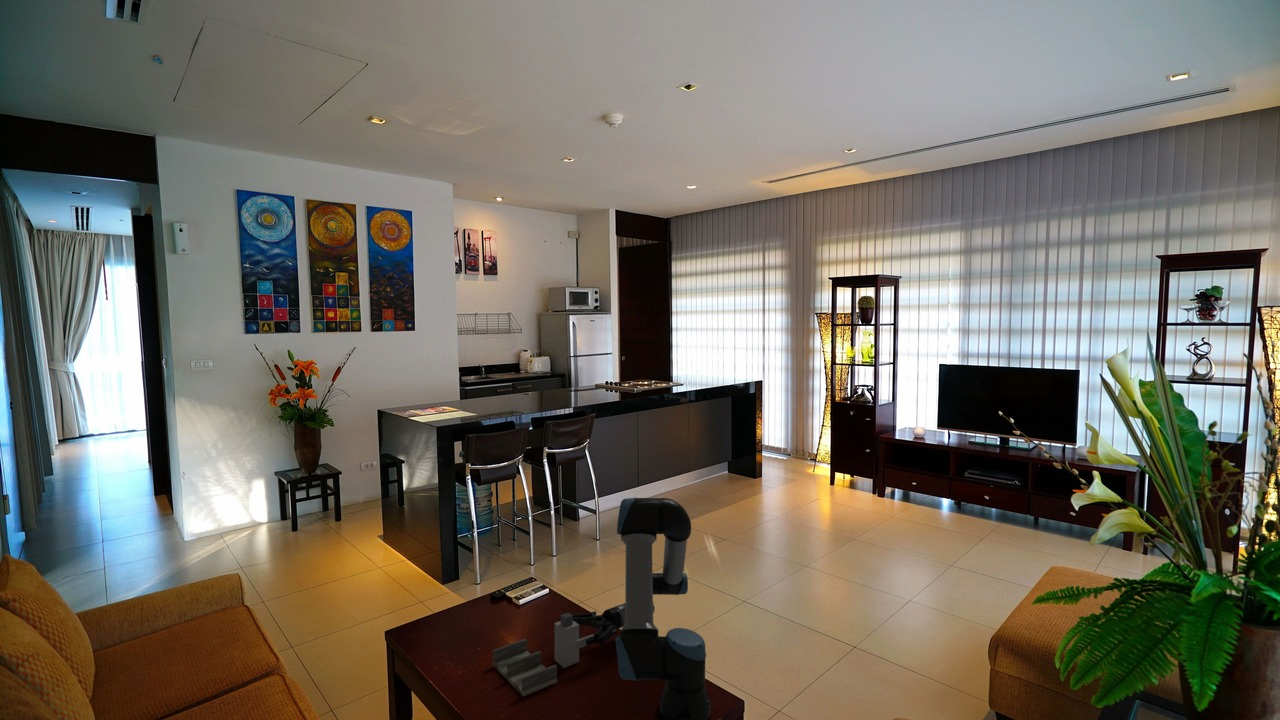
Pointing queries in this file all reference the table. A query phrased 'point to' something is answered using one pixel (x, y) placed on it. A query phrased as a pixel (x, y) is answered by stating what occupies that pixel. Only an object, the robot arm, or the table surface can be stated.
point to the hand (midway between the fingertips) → (566, 636)
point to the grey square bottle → (566, 641)
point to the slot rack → (523, 668)
